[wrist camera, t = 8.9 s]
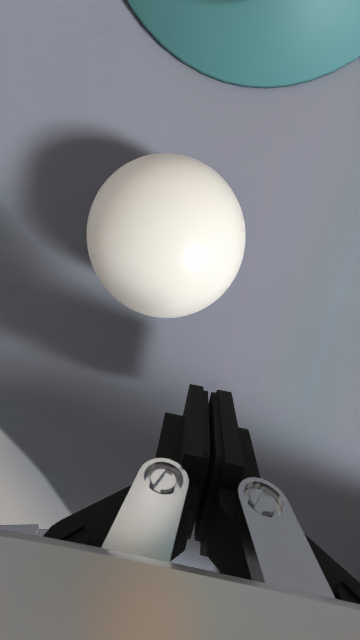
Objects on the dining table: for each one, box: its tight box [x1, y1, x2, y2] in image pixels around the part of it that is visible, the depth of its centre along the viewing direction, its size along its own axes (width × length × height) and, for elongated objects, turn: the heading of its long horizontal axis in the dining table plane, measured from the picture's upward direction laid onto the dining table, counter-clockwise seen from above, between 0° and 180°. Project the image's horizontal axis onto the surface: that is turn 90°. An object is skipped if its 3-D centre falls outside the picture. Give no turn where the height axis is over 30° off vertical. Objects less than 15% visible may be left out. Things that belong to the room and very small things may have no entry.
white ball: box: [87, 153, 246, 318], centre depth 10 cm, size 6×6×6 cm
